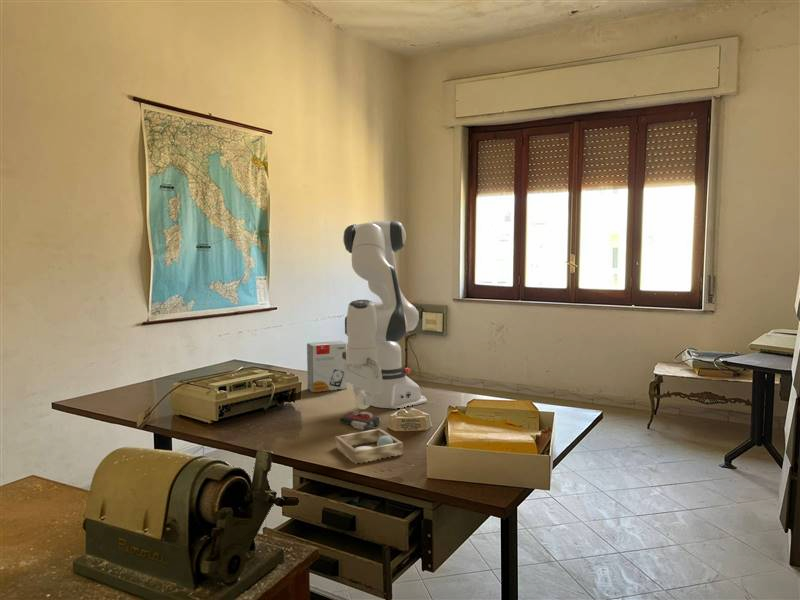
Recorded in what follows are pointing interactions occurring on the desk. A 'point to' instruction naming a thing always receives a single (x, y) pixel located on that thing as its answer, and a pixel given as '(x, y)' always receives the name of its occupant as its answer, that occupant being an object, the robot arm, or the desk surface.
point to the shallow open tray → (369, 454)
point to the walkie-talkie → (361, 420)
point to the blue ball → (384, 440)
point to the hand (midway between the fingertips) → (363, 402)
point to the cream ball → (360, 401)
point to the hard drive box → (325, 366)
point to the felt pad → (362, 447)
